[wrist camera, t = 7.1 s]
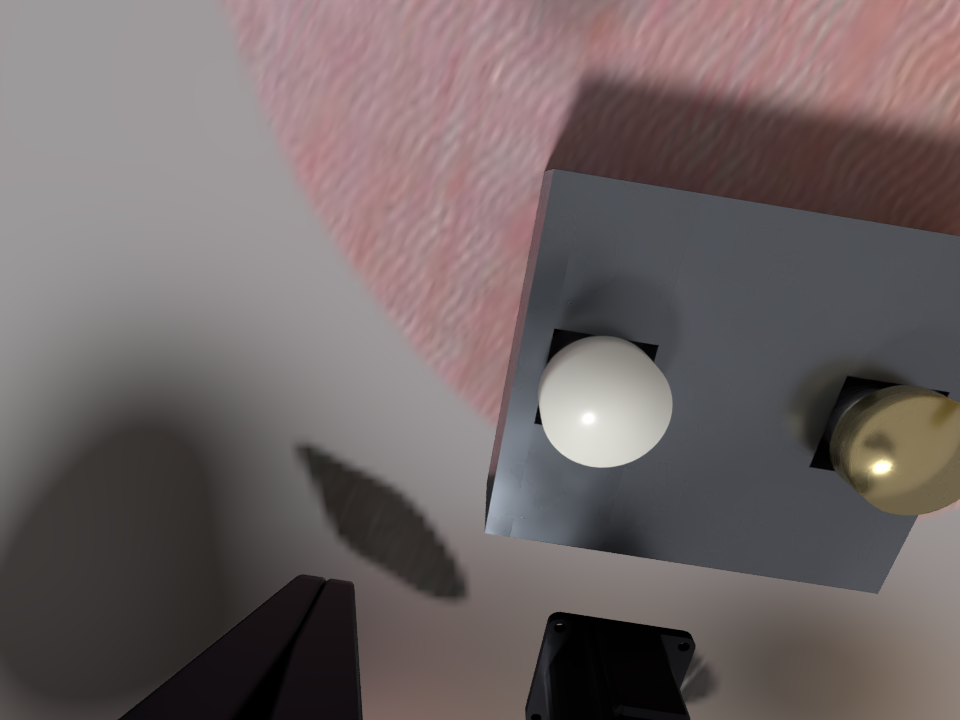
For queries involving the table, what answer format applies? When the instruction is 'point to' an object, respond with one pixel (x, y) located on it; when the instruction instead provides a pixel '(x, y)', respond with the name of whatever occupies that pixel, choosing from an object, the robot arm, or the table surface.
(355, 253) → the table surface
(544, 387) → the knob ivory
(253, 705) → the robot arm
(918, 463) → the knob brass
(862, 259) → the mount
